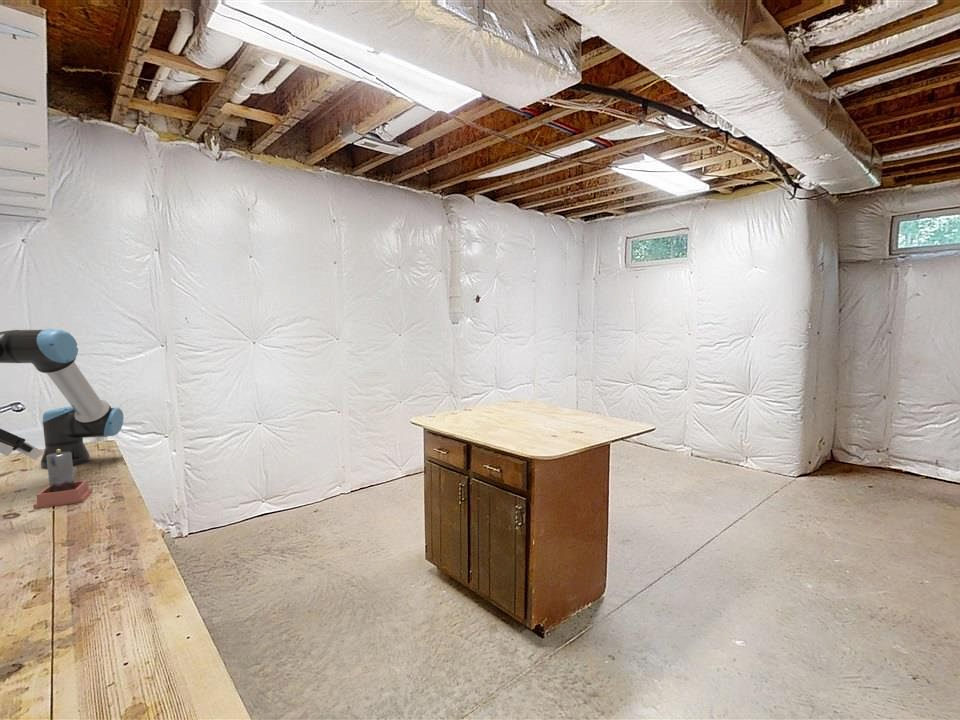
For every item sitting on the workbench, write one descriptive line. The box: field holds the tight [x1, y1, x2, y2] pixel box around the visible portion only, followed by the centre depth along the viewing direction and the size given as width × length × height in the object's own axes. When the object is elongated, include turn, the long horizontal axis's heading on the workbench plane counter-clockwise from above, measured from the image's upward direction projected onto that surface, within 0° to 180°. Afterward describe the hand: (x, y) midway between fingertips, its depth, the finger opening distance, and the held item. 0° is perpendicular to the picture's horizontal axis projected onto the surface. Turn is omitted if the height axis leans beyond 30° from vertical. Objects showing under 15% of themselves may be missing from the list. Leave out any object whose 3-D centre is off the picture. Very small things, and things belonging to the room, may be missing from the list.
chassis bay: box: [32, 479, 93, 510], centre depth 152 cm, size 10×12×4 cm
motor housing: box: [46, 449, 75, 493], centre depth 151 cm, size 6×6×16 cm
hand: (24, 454), depth 142 cm, fingers open, 13 cm apart
